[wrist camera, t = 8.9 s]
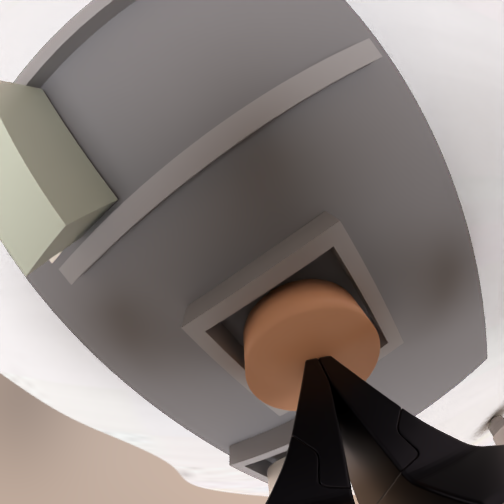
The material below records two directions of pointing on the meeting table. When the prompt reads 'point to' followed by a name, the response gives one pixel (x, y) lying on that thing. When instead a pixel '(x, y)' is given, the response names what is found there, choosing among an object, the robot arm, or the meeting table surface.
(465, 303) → the control board
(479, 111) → the meeting table surface
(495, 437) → the lightbulb
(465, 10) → the meeting table surface
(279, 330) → the terracotta button
